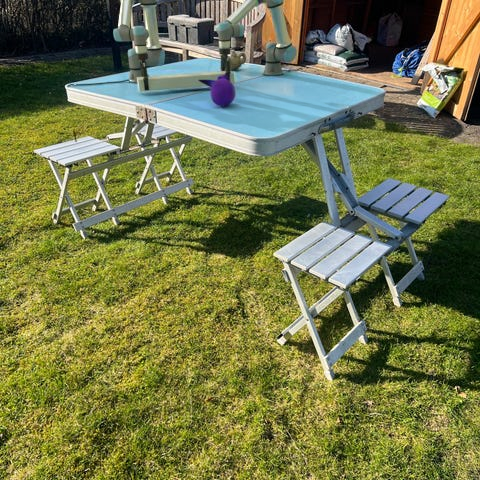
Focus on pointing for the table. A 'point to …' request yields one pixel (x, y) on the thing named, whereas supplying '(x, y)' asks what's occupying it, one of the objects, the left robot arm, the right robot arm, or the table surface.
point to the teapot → (236, 60)
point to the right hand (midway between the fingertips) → (225, 82)
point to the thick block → (180, 80)
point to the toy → (221, 90)
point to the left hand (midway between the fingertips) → (146, 88)
